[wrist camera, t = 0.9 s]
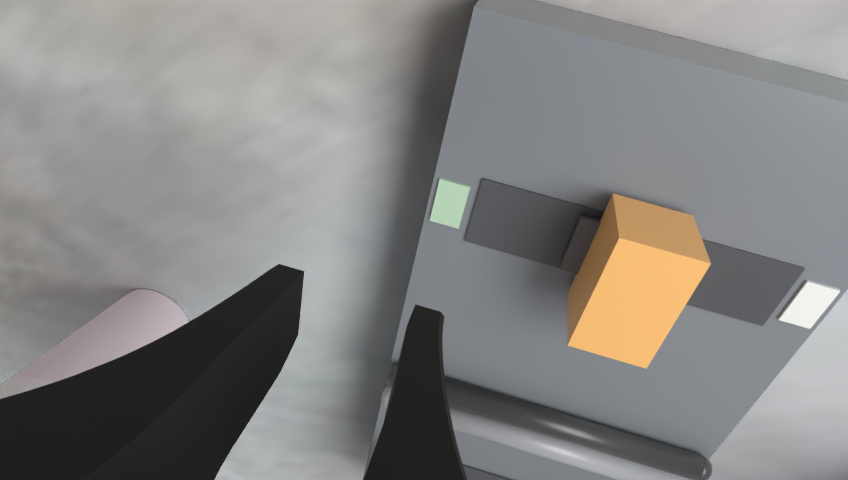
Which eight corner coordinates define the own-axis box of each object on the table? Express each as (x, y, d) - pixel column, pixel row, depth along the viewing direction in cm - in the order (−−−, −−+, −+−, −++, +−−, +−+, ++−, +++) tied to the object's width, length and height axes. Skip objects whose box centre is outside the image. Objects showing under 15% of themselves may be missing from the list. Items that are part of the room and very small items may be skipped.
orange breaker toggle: (712, 220, 17) (734, 270, 14) (655, 319, 19) (666, 374, 17) (592, 187, 17) (596, 231, 15) (549, 288, 19) (547, 339, 17)
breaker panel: (913, 96, 17) (998, 151, 13) (607, 521, 30) (612, 600, 27) (486, -12, 18) (468, 14, 14) (374, 448, 31) (352, 517, 28)
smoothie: (239, 337, 29) (18, 650, 17) (168, 378, 32) (-60, 667, 20) (142, 245, 27) (-184, 529, 15) (76, 298, 30) (-236, 568, 18)
